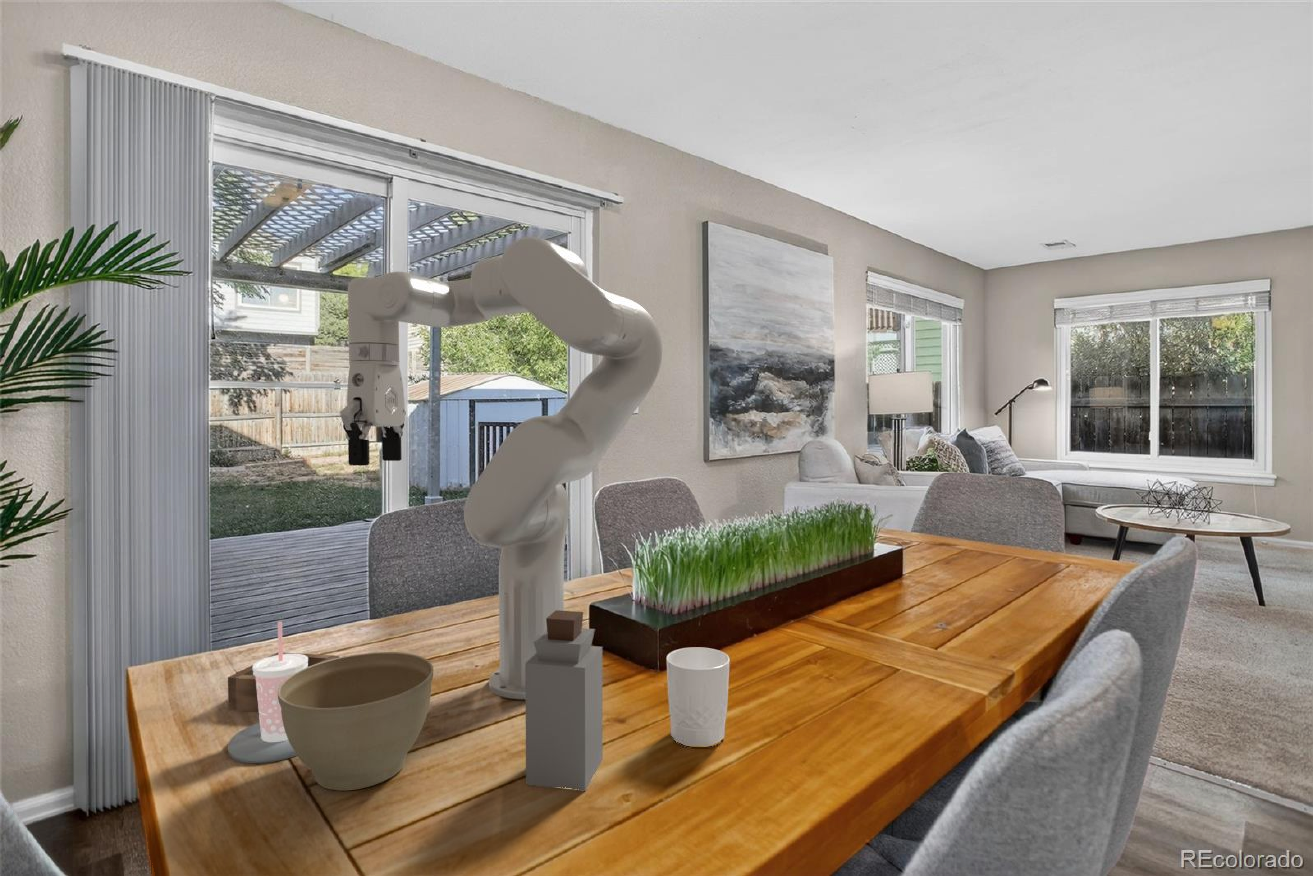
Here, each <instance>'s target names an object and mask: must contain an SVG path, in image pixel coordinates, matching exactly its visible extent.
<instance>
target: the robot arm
mask: <svg viewBox="0 0 1313 876" xmlns="http://www.w3.org/2000/svg"><path fill="white" fill-rule="evenodd" d="M347 311H348V313H347V315H348V316H347V317H348V321H347V322H348V365H349V367H348V368H349V370H348V378H347V390H346V391H347V392H346V406H345V407H344V408H343V409H341V411H340V413H339V416H340V418H341V422H342V428H343V431H344V432H345V439H346V440H347V445H348V446H347V447H348V449H347V450H348V453H347V454H348V455H347V456H348V459H347V460H348V465H350V466H369V465H370V439H367V437H368V435H369V432H370V431H371V427H376V428H381V431H382V433H383V435H384V436H382V437H381V444H382V445H381V449H382V450H381V455H382V461H386V462H387V461H389V462H391V461H392V462H394V461H395V462H399V461H402V459H403V457H402V437H403V434H404V433H403V428H404V426H405V421H406V409H405V408H406V406H405V405H406V404H405V395H404V383H403V378H402V372H401V368H400V329H399V328H400V324H399V323H400V322H401V323H407V324H415V325H420V326H421V325H422V326H427V327H431V328H451V327H459V326H469V325H475V324H479V323H483V322H486V321H489V320H492V319H494V318H496V317H502V316H508V315H518V314H524V313H525V314H526V313H529V314H531V315H532V316H533V317H535V318H536V319H537V320H538V321H539V322H540V323H541V324H542V325H544V326H545V327H546V328H547V329H548V330H549V331H551V333H553V334H554V335H555V336H556V337H557V338H559V339H560V340H561V341H562V342H563V343H565V344H566V345H567V346H568V347H571V348H572V349H574V350H576V351H579V352H581V353H584V354H589V355H595V356H600V357H601V356H602V359H601V360H600V363H599V364H598V365H597V366H596V367H595V368H594V369H593V370H592V371H590V373H589V374H587V375H586V376H585V378H584V379H583V380H582V381H581V382H580V384H578V386H577V388H576V389H575V391H574V392H573V394H572V395H571V397H570V398H569V400H568V401H567V402H566V403H565V405H564V406H563V407H562V409H560V410H559V411H558V412H557V413H556V414H553V415H539V416H533V417H531V418H528V419H526V420H524V421H523V422H521V423H520V424H518V425H516V426H515V427H514V428H513V429H512V430H511V431H510V432H509V434H508V435H507V436H506V437H505V438H504V440H503V442H502V443H501V444H500V446H499V447H498V448H497V450H496V452H495V453H494V455H493V456H492V457H491V459H490V461H489V462H488V463H487V465H486V467H485V468H484V469H483V471H482V472H481V473H480V475H479V476H478V479H476V481H475V483H474V484H473V485H472V487H471V489H470V491H469V493H468V495H467V498H466V500H465V502H464V503H465V504H464V509H463V519H464V524H465V527H466V531H467V532H468V534H469V535H470V537H471V538H472V539H473V540H475V542H477V543H479V544H480V545H482V546H485V547H487V548H501V550H500V555H499V563H498V624H499V625H498V626H499V627H498V628H499V629H498V631H499V633H498V635H499V636H498V637H499V639H498V641H499V648H498V649H499V654H498V655H499V668H498V669H497V670H495V671H494V672H492V674H490V676H489V679H488V687H489V690H490V691H491V692H492V693H493V694H495V695H497V696H500V697H503V698H507V699H511V700H526V695H525V663H526V662H527V661H528V660H529V659H530V658H531V657H533V656H534V655H535V654H536V653H537V652H536V649H535V645H534V642H533V641H534V640H535V639H536V638H538V637H539V636H540V635H541V634H542V633H543V632H544V631H546V630H547V623H546V618H547V617H549V616H550V615H551V614H552V613H553V612H555V611H556V610H560V611H565V599H564V597H565V595H564V594H565V589H564V588H565V587H564V586H565V582H564V581H565V544H566V535H567V529H568V524H569V517H570V516H569V515H570V502H569V501H570V500H569V495H568V494H567V493H568V492H567V491H566V489H565V487H564V484H566V483H567V484H568V483H572V482H575V481H579V480H582V479H584V478H585V477H587V476H588V475H590V474H591V473H592V472H593V471H594V469H595V468H596V467H597V465H598V463H599V462H600V461H601V460H602V458H603V457H604V455H605V454H606V453H607V451H608V450H609V448H610V447H611V445H612V444H613V443H614V441H615V440H616V438H617V437H618V436H619V435H620V433H621V432H622V430H623V428H624V427H625V426H626V424H627V423H628V421H629V419H630V418H632V415H633V414H634V413H635V412H636V410H637V409H638V407H639V406H640V405H641V403H642V402H643V401H644V400H645V398H646V397H647V395H648V393H649V392H650V390H651V388H652V387H653V385H654V384H655V381H657V380H656V379H657V377H658V374H659V371H660V369H661V366H662V359H663V358H662V357H663V343H662V339H661V334H660V330H659V329H658V326H657V324H656V322H655V320H654V319H653V317H652V315H651V314H650V313H649V312H648V311H647V310H646V309H645V308H644V307H643V306H642V305H640V304H639V303H637V302H635V301H633V300H632V299H630V298H627V297H624V296H621V295H618V294H615V293H612V292H610V291H607V290H604V289H602V288H601V287H599V286H598V285H597V284H596V283H594V282H593V281H592V280H591V279H589V273H588V270H587V267H586V264H585V263H584V261H583V260H582V259H581V258H580V256H579V255H578V254H576V253H575V252H573V251H571V250H570V249H568V248H566V247H563V246H561V245H559V244H556V243H555V242H553V241H550V240H547V239H545V238H542V237H538V236H537V237H536V236H526V237H521V238H519V239H517V240H515V241H513V242H512V243H511V244H510V245H509V246H507V248H506V249H505V250H504V251H503V252H502V255H501V256H495V257H487V258H483V259H480V260H479V261H478V262H476V263H475V265H474V266H473V267H472V270H471V273H470V278H465V279H458V280H450V281H448V280H447V281H442V280H436V279H435V278H430V277H425V276H421V275H418V274H413V273H410V272H404V271H392V272H391V271H390V272H387V273H385V274H381V275H378V276H374V277H373V276H371V277H370V276H365V277H364V276H363V277H355V278H353V279H351V280H350V281H349V283H348V284H347Z"/></svg>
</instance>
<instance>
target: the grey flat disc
mask: <svg viewBox="0 0 1313 876" xmlns="http://www.w3.org/2000/svg"><path fill="white" fill-rule="evenodd" d="M227 746H228V756H229V757H230V758H231V759H233V760H235V761H237V762H239V763H240V762H241V763H246V764H263V763H274V762H279V761H284V760H288V759H291V758H295V757H298V755H297V754H296V753H295V751H294V749H293V748H292V746H291V744H290V742H289V740H286V741H280V742H266V741H263V740H262V739H261V730H260V722H258V723H254V724H252V725H250V726H247V727H246V728H244V729H242V730H240V731H239V732H237V733H236V734H235V735H233V736H232V737H231V739H230V740H229V741H228V744H227Z"/></svg>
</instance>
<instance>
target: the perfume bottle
mask: <svg viewBox="0 0 1313 876" xmlns="http://www.w3.org/2000/svg"><path fill="white" fill-rule="evenodd" d="M583 619H584V612H583V611H577V610H576V611H573V610H572V611H571V610H564V611H560V610H556V611H555V612H553V613H552V614H551V615H550V616H549V617H547V618H546V623H547V630H546V631H544V632H543V633H542V634H541V635H540V636H539V637H538V638H536V639H535V640H534V641H533V642H534V645H535V649H536V652H537V653H536V654H535V655H534V656H533V657H531V658H530V659H529V660H528V661H527V662H526V663H525V695H526V699H525V785H526V786H532V785H534V787H541V786H542V788H543V786H544V788H550V787H561V788H562V787H563V788H565V787H566V788H572V789H577V790H578V789H579V790H583V791H582V792H584V791H585V790H586V791H587V789H588V788H587V787H589V786H590V784H591V782H592V781H591V779H592V777H593V775H594V774H595V775H596V773H597V772H596V770H597V768H598V766H599V765H600V766H601V764H602V763H601V761H602V760H603V755H604V753H603V749H604V747H603V740H604V739H603V736H604V735H603V729H604V728H603V726H604V725H603V724H604V723H603V646H594V645H592V644H593V639H594V635H595V631H596V629H595V628H583ZM602 762H603V761H602ZM600 763H601V764H600ZM600 766H599V767H600ZM598 769H599V768H598ZM597 771H598V770H597ZM595 772H596V773H595ZM595 775H594V776H595ZM593 778H594V777H593ZM592 780H593V779H592ZM590 781H591V782H590ZM589 783H590V784H589ZM535 785H536V786H535ZM588 785H589V786H588ZM586 788H587V789H586ZM586 791H585V792H586Z"/></svg>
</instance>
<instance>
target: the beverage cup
mask: <svg viewBox="0 0 1313 876" xmlns="http://www.w3.org/2000/svg"><path fill="white" fill-rule="evenodd" d="M283 644H284V643H283V622H282V621H277V647H278V650H277V651H278V655H276V656H272V657H269V656H267V657H268V658H267V657H265V658H263V659H262V658H261V659H260V660H257V661H256V662H255V663H254V664H252V665H253V667H252V670H253V675H255V677H256V688H257V698H258V709H259V712H258V719H259V723H260V730H261V739H262V740H263V741H266V742H280V741H286V740H288V738H287V735H286V732H285V729H284V725H283V721H282V714H281V706H280V704H279V700H278V688H279V686H280V685H281V683H282V682H283V681H284V680H286V679H287V678H288V677H290V676H291V675H293V674H294V673H296V672H298V671H300V670H302V669H304V668H306V667H308V657H307V656H305V655H302V654H303V653H299V654H283V653H284V650H283V649H284V648H283V647H284V646H283Z"/></svg>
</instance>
